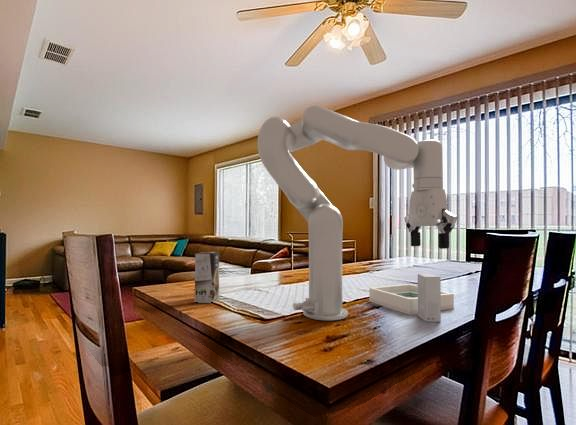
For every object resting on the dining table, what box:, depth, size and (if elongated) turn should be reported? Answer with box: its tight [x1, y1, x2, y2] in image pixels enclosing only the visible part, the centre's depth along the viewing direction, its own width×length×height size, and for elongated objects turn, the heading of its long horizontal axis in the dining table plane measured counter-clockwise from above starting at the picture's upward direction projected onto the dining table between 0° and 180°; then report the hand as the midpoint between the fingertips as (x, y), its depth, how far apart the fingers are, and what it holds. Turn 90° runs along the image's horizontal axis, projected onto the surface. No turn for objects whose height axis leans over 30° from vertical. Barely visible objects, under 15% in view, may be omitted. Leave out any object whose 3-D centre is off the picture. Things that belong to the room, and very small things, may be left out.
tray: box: [368, 283, 455, 316], centre depth 108 cm, size 18×18×4 cm
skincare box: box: [417, 273, 442, 323], centre depth 93 cm, size 6×4×12 cm
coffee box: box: [193, 251, 220, 304], centre depth 114 cm, size 9×6×16 cm
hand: (429, 247), depth 93 cm, fingers open, 9 cm apart
